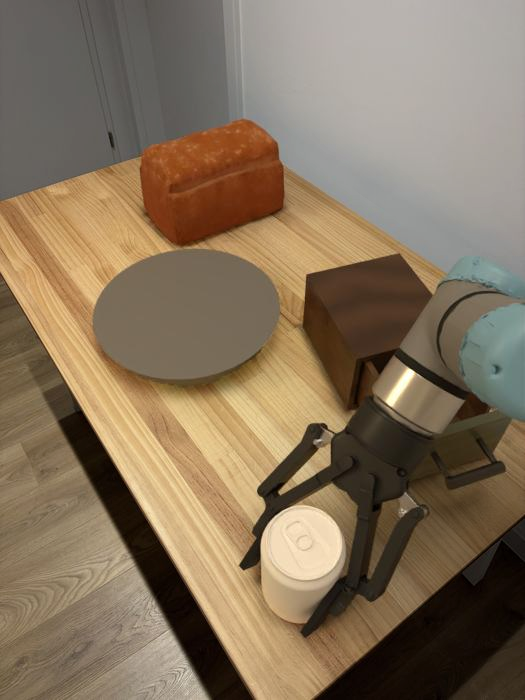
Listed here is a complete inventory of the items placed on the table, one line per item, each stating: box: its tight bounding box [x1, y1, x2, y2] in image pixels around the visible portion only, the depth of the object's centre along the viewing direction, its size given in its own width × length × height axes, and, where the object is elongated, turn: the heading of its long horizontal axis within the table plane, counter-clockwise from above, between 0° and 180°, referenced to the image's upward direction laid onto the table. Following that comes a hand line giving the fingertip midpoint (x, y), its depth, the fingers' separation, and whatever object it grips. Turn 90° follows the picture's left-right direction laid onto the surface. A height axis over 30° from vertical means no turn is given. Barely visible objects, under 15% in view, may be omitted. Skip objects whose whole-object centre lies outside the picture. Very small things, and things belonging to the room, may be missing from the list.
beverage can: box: [260, 504, 347, 624], centre depth 56 cm, size 8×8×12 cm
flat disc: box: [92, 248, 281, 389], centre depth 85 cm, size 28×28×4 cm
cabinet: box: [302, 252, 434, 411], centre depth 78 cm, size 17×15×11 cm
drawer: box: [355, 353, 513, 491], centre depth 69 cm, size 20×14×9 cm
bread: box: [138, 118, 286, 245], centre depth 102 cm, size 17×24×15 cm
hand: (277, 596), depth 56 cm, fingers closed on beverage can, 8 cm apart
